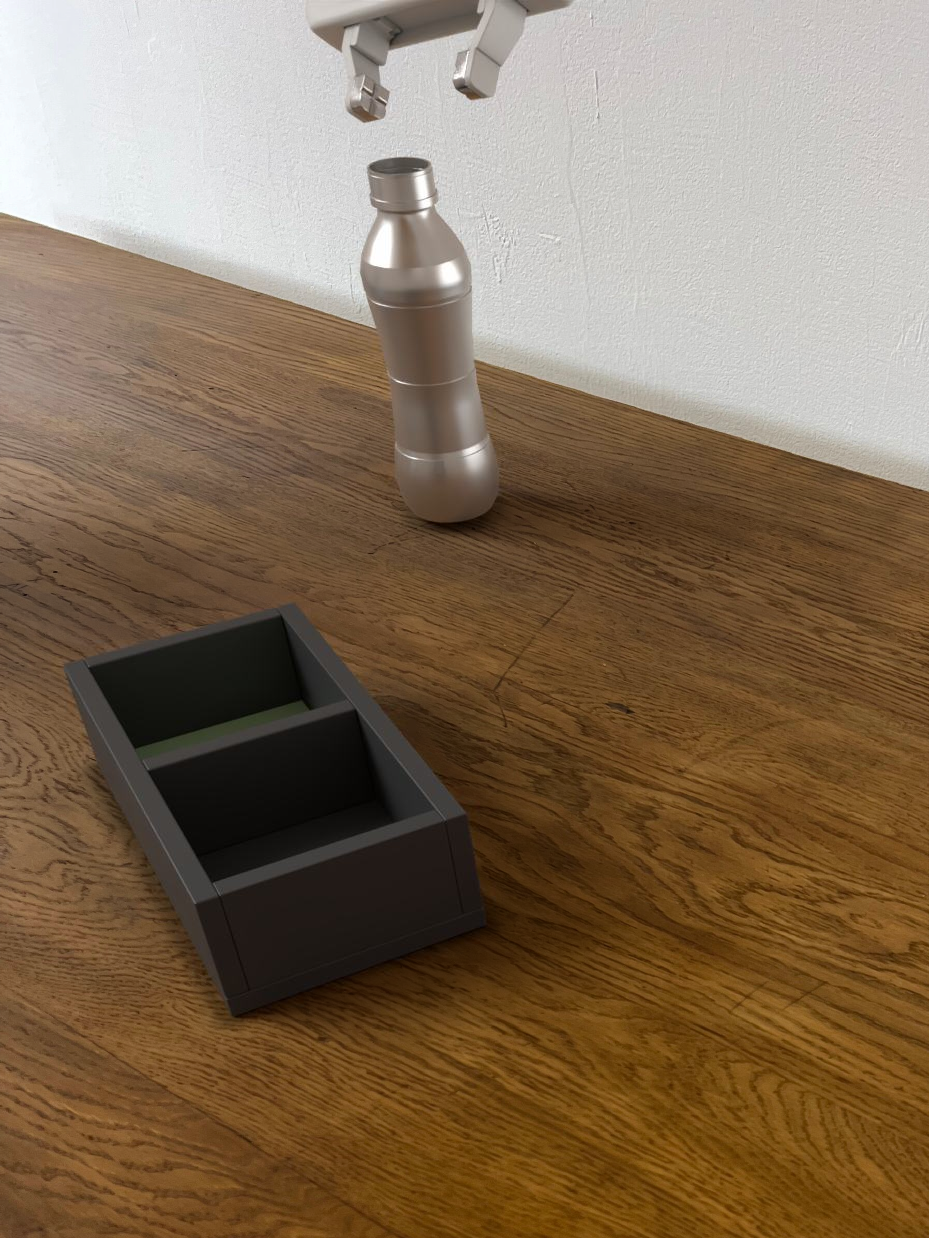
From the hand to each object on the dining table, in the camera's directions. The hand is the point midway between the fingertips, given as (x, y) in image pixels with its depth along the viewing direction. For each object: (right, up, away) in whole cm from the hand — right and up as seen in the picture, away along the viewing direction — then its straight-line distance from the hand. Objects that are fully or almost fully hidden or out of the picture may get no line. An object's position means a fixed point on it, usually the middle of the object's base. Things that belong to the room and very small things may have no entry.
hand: (416, 105), depth 87 cm
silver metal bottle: (-1, -18, +14) cm, 23 cm away
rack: (-4, -42, -13) cm, 44 cm away
